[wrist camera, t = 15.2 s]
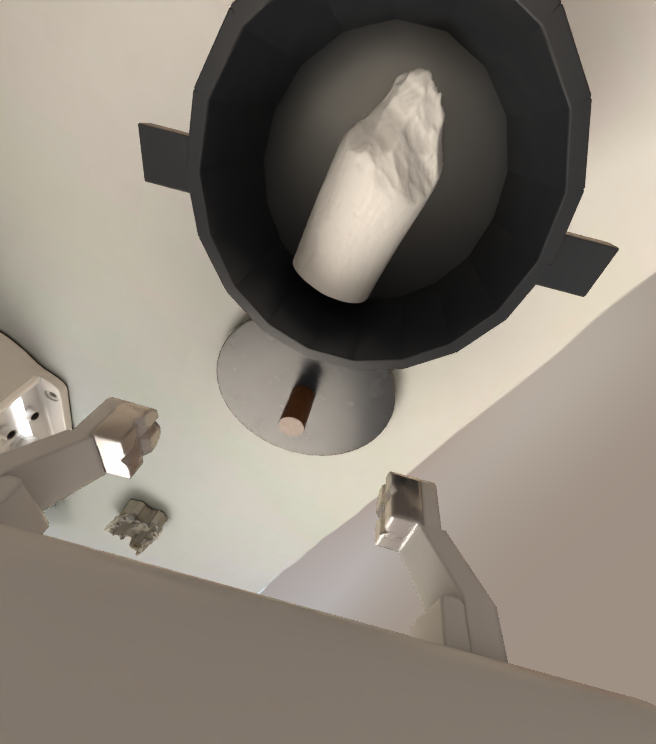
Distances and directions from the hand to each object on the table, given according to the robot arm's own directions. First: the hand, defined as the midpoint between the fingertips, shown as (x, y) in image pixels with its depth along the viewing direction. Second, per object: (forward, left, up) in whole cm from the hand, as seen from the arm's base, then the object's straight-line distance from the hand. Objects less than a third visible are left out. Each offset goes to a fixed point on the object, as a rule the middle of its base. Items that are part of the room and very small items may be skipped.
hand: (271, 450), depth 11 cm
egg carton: (-51, +24, -19) cm, 59 cm away
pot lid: (-13, +1, -18) cm, 22 cm away
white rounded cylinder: (+6, -1, -18) cm, 19 cm away
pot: (+6, -1, -19) cm, 20 cm away
